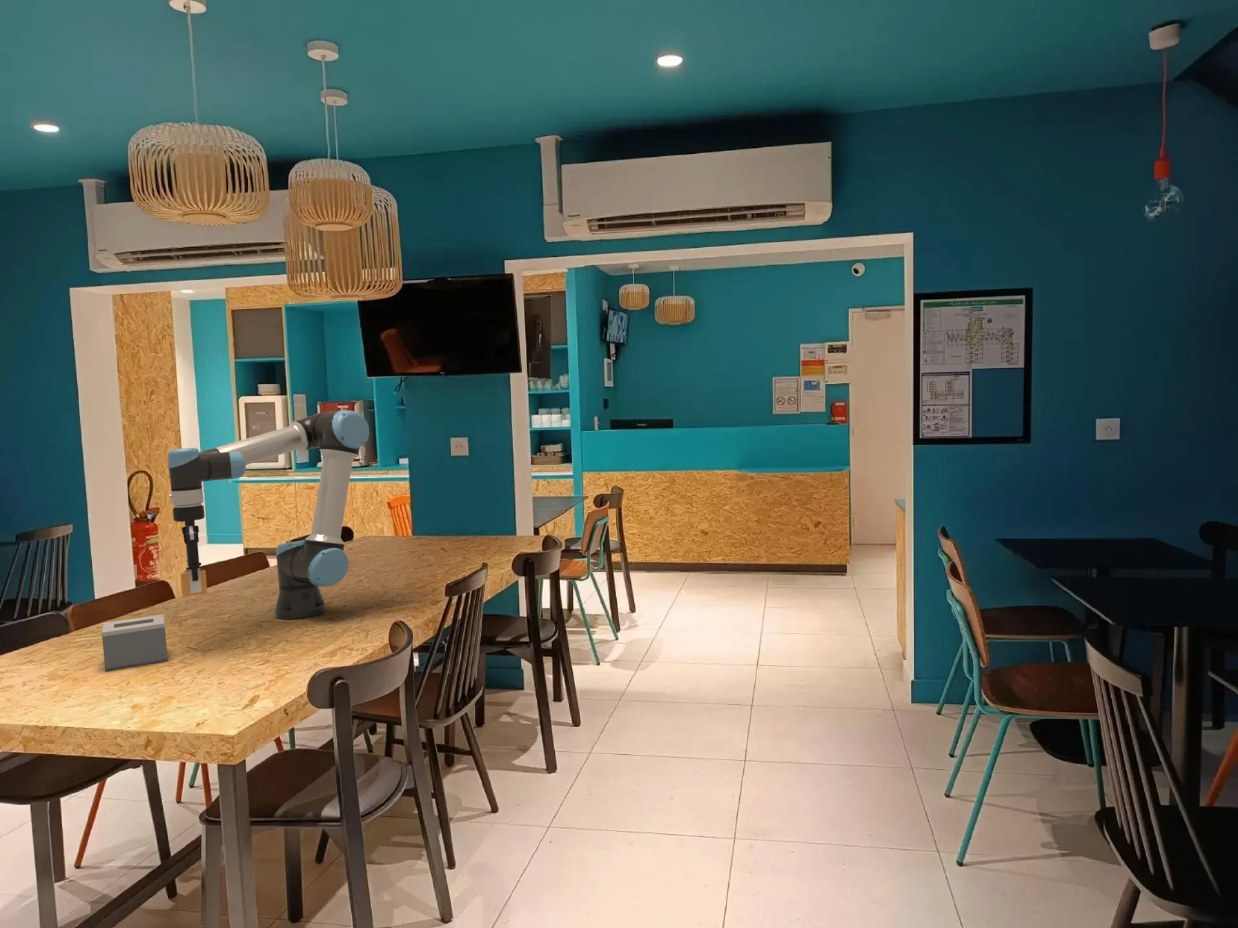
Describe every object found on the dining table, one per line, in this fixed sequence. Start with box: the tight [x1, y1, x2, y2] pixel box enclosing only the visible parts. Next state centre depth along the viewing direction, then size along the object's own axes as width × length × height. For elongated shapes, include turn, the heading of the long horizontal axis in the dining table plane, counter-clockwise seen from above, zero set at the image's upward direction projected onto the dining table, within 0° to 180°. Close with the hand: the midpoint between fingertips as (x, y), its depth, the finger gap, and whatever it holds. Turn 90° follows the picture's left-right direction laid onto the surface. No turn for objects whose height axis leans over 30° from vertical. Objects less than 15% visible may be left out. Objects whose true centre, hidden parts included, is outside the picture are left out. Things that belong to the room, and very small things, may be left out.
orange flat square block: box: [180, 569, 208, 597], centre depth 230 cm, size 6×2×6 cm, turn 119°
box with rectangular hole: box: [101, 614, 169, 672], centre depth 223 cm, size 14×12×10 cm
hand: (196, 591), depth 230 cm, fingers closed on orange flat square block, 2 cm apart
